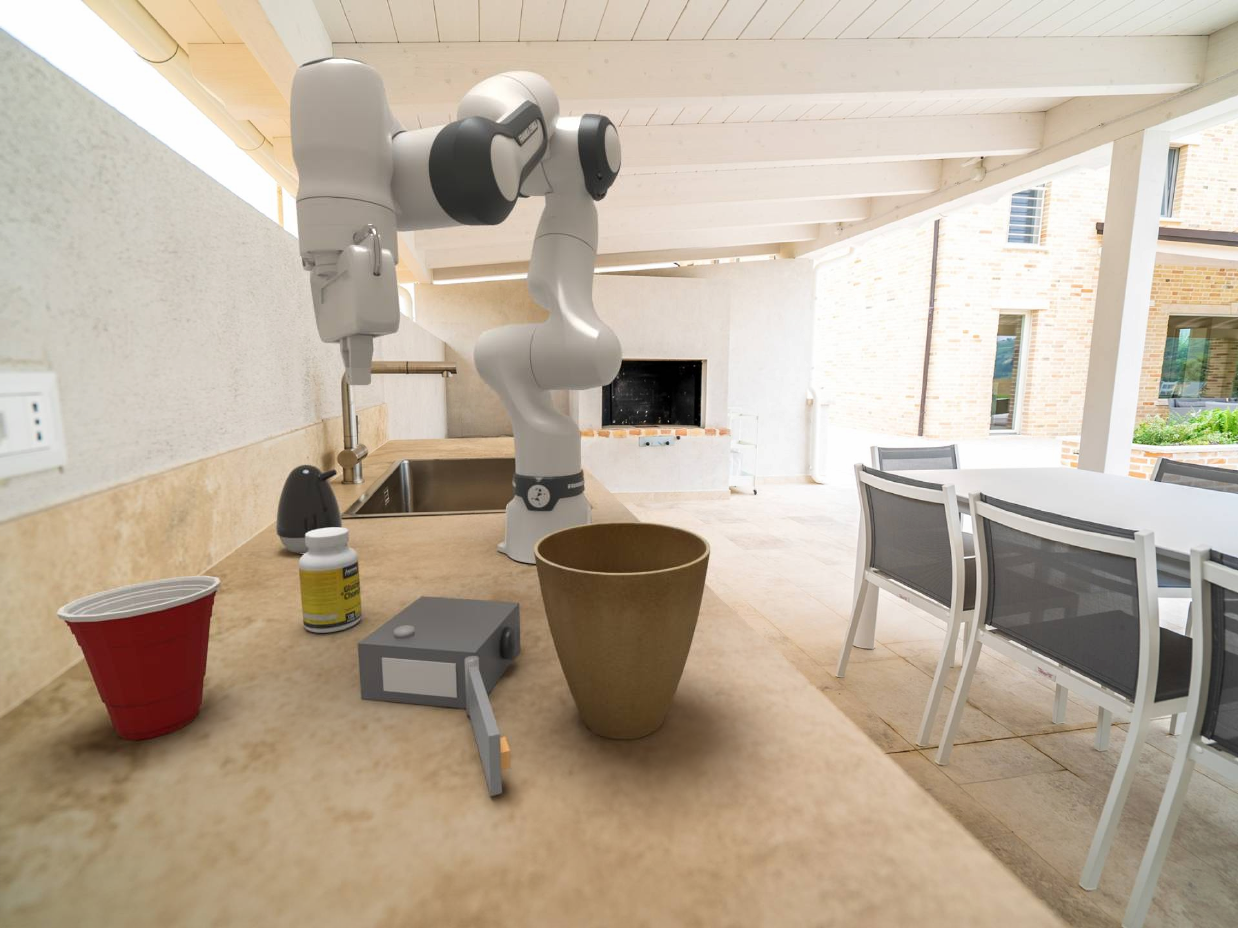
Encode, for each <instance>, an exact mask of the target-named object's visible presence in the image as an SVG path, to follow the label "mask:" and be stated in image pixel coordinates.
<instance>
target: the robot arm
mask: <svg viewBox="0 0 1238 928" xmlns="http://www.w3.org/2000/svg"><path fill="white" fill-rule="evenodd" d="M289 104H290V105H289V106H290V107H289V114H290V115H289V120H290V121H289V122H290V123H289V125H290V141H291V153H292V154H291V155H292V158H293V162H294V164H295V168H296V170H297V175H298V187H297V188H298V189H297V192H296V197H295V206H296V220H297V222H296V223H297V232H298V233H297V234H298V248H299V256H300V257H301V263H302V265H301V266H302V268H303V270H304V271H306V272H309V280H310V281H309V283H310V291H311V299H312V305H313V311H314V316H315V318H314V319H315V323H316V328H317V331H318V335H319V337H320V340H321V342H322V343H323V344H324V343H325V344H336V345H337V344H338V345H339V349H340V350H339V351H340V355H341V358H342V363H343V365H344V371H345V383H346V384H348V385H349V386H369V385H370V384H371V382H372V371H371V370H372V369H371V368H372V361H373V356H374V339H377V338H380V337H384V336H387V335H391V334H395V333H397V332H398V331H399V328H400V321H401V320H400V319H401V311H400V299H399V298H400V297H399V296H400V295H399V289H398V288H399V286H398V277H397V270H396V269H397V268H396V267H397V266H398V264H399V262H400V261H399V247H398V246H399V244H398V232H400V233H401V232H415V231H424V230H436V229H444V228H445V229H446V228H452V227H453V228H454V227H461V226H464V227H465V226H471V227H473V226H474V227H476V226H483V227H484V226H497V225H500V224H502V223H503V222H505V220H507V218H508V217H509V216H510V214H511V213H512V212H513V210H514V208H515V206H516V204H517V201H518V198H523V199H527V198H530V197H544V200H545V201H544V202H545V205H544V208H543V210H542V212H541V216H540V219H539V220H538V224H537V227H536V231H535V235H534V239H533V243H532V244H533V245H532V249H531V254H530V259H529V260H530V261H529V265H528V270H527V276H526V281H525V282H526V287H527V291H528V294H529V295H530V297H531V299H532V300H533V301H534V303H536V304H537V305H538V306H539V307H541V308H542V309H544V310H546V311H548V312H549V315H548V318H547V320H546V321H543V322H535V323H534V322H532V323H529V322H528V323H509V324H505V325H501V326H496V327H493V328H489V329H486V330H485V331H483V332H482V333H481V334H480V335H479V336H478V338H477V340H476V343H475V345H474V348H473V363H474V368H475V370H476V372H477V374H478V375H479V377H480V379H481V380H482V381H483V382H484V383H485V384H486V385H488V386H489V388H491V389H492V391H494V392H495V393H496V395H497V396H498V397H499V399H500V400H501V402H502V403H503V405H504V408H505V410H506V412H507V415H508V417H509V419H510V423H511V428H512V434H513V443H514V458H515V460H514V462H515V472H514V473H513V475H512V486H513V487H512V488H513V491H512V492H513V494H514V497H513V499H511V501H509V502H508V503H507V504H506V505H505V506H506V507H505V522H504V524H505V525H504V526H505V528H504V541H502V542H499V543H498V544H497V551H498V552H500V553H503V554H506V555H507V556H508V557H509V558H510V559H512V560H514V561H517V562H521V563H526V564H527V563H528V564H535V565H536V561H535V555H534V546H535V544H536V543H537V542H538V541H539V540H540V539H541V538H543V537H544V536H546V535H548V534H550V533H553V532H556V531H559V530H562V529H566V528H570V527H574V526H579V525H585V524H593V522H592V506H591V504H590V502H589V500H588V499H587V497H586V495H585V493H584V492H585V490H586V489H585V478H584V476H585V472H584V469H583V468H582V463H581V459H582V456H581V453H582V452H581V450H582V447H581V431H580V428H579V426H578V423H576V421H575V420H574V419H573V418H572V417H571V416H569V415H567V414H566V413H564V412H562V411H560V410H559V409H558V408H557V406H556V404H555V403H554V401H553V398H552V395H551V391H585V390H590V389H595V388H600V387H604V386H608V385H610V384H611V383H612V382H613V381H614V380H615V378H616V377H617V375H618V373H620V369H621V365H622V361H623V360H622V359H623V350H622V346H621V345H622V344H621V343H620V340H619V338H618V336H617V334H616V333H615V332H614V330H613V329H612V328H611V327H610V326H609V325H607V324H606V323H605V322H603V320H601V318H600V317H599V315H598V313H597V312H596V310H595V307H594V303H593V287H594V286H593V284H594V283H593V282H594V277H595V276H594V275H595V268H596V261H597V256H598V255H597V254H598V247H599V246H598V245H599V217H598V215H599V214H598V210H597V207H596V205H595V201H596V202H599V201H603V199H605V198H606V196H607V193H608V190H609V189H610V188H611V187H612V186H613V185H614V182H616V179H617V177H618V175H619V172H620V170H621V166H622V146H621V140H620V137H619V133H618V131H617V128H616V126H615V125H614V123H613V122H612V121H611V120H610V118H609V117H608V116H605V115H601V114H595V113H585V114H583V115H581V116H578V115H577V116H575V115H574V116H560V113H561V111H560V104H559V99H558V97H557V94H556V91H555V90H554V88H553V86H552V85H551V84H550V82H549V81H548V80H547V79H546V78H544V77H543V76H542V75H540V74H538V73H536V72H533V71H530V70H529V71H527V70H512V71H506V72H502V73H499V74H495V75H493V76H490V77H489V78H486V79H484V80H483V81H480V82H478V83H477V84H475V85H474V86H473V87H472V88H470V89H469V90H468V92H467V93H466V94H465V95H464V96H463V98H462V99H461V100H460V102H459V105H458V107H457V112H456V120H455V121H452V122H450V123H446V124H442V125H441V124H440V125H436V126H430V127H424V128H420V129H415V130H409V129H407V128H406V126H404V124H403V123H402V122H400V120H399V118H398V117H397V116H396V114H395V113H394V112H393V110H392V109H391V107H390V104H389V103H388V100H387V95H386V90H385V86H384V81H383V78H382V75H381V73H380V72H379V70H377V68H375V67H373V66H372V65H370V64H368V63H367V62H363V61H361V60H359V59H354V58H348V57H335V56H334V57H333V56H329V57H328V56H327V57H324V58H317V59H314V60H311V61H308V62H305V63H303V64H302V65H301V66H299V67H298V68H297V69H296V70H295V74H294V75H293V78H292V84H291V89H290V103H289Z"/></svg>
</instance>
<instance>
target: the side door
mask: <svg viewBox="0 0 1238 928" xmlns="http://www.w3.org/2000/svg"><path fill="white" fill-rule="evenodd" d="M465 684H466V714H467V715H468V716H469V718H470V723H471V726H472V729H473V733H474V737H475V741H476V745H477V749H478V753H479V756H480V761H481V764H482V768H483V772H484V777H485V779H486V780H485V781H486V783H487V787H488V792H489V794H490V797H492V796H496V795H500V794H503V789H502V786H503V785H502V783H503V781H502V779H503V778H502V771H507V770H510V769H511V750H510V746H509V743H508V741H507V738H506V736H502V737H501V733H500V729H499V726H498V723H497V721H496V718H495V714H494V711H493V709H492V705H491V702H490V700H489V697H488V696H487V693H486V690H485V687H484V684H483V681H482V678H481V675H480V672H479V658H478V657H477V656H468V657H466V658H465Z"/></svg>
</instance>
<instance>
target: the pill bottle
mask: <svg viewBox="0 0 1238 928" xmlns="http://www.w3.org/2000/svg"><path fill="white" fill-rule="evenodd" d="M349 539H350V533H349V529H348V528H345V527H342V528H341V527H330V528H321V529H316V530H312V531H309V532H307V533H306V534H305V543H306V546H307V547H308V548H309V551H308V552H307V553H305V554H302V556H301V557H300V559H299V562H298V575H299V585H300V599H301V609H302V621H303V622H302V623H303V627H304V628H305V629H306V630H308V631H309V632H313V633H318V634H319V633H320V634H323V633H324V634H326V633H334V632H339V631H343V630H346V629H348V628H351V627H354V625H356V624H357V623H358V622H360V620H361V618H362V615H363V614H362V612H363V611H362V598H361V597H362V596H361V583H360V568H359V566H360V565H359V555H358V553H357V551H356V550H355V549H354V548H352V547H349V546H348V543H349V541H350V540H349Z"/></svg>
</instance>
